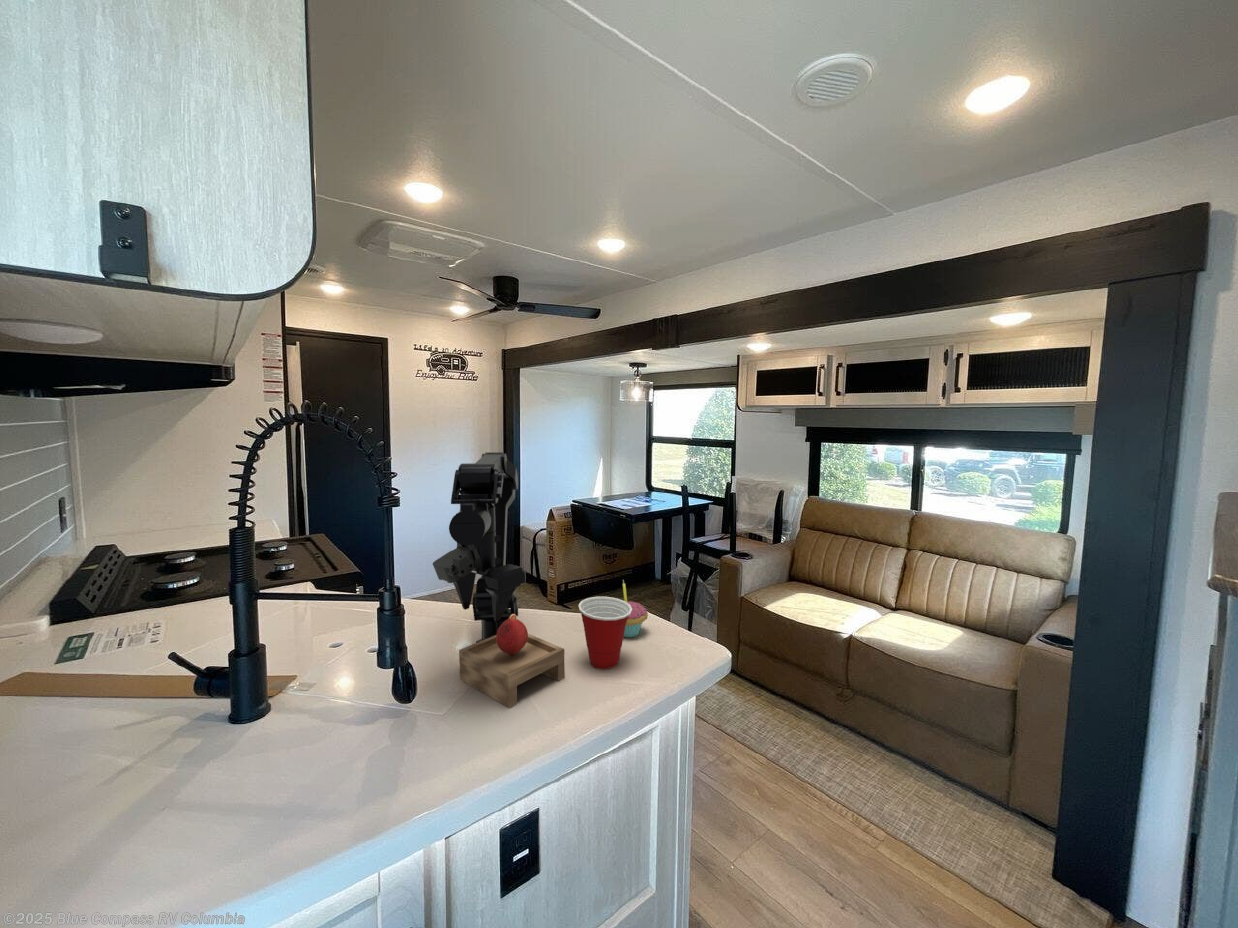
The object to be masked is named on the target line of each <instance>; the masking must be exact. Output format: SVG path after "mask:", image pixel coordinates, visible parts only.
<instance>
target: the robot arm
mask: <svg viewBox="0 0 1238 928" xmlns="http://www.w3.org/2000/svg"><path fill="white" fill-rule="evenodd" d="M507 457H508V456H507V453H504V452H503V451H502V452H499V451H498V452H496V451H495V452H494V451H493V452H487V451H486V452H484V453H482V454H481V457H480V458H479V459H478V460H477V461H476V462H474V463H472V462H471V463H469V462H468V463H466V462H465V463H460V464H459V465H458V469H455V471H454V478H453V483H452V484H453V485H452V491H451V492H452V493H451V499H450V504H451V505H459V511H458V512H457V513H455V515H453V516H452V518H451V519H450V523H449V525H448V531H449V532H448V533H449V534H450V537H451V538H452V539H453V541H454V542H456V548H454V549H452V550H450V551H448V552H447V553H445V554H444V555H442V556H440V557H439V558H437V559H436V560H435V561H433V562H432V566H433V569H434V572H435V573H436V575H437V578H438V580H439V581H444V582H447V583H448V584H452V585H453V586H454V588H455V590H456V593H457V595H458V598H459V602H460V604H461V607H462V609H463V610H465V611H467V610H468V609H470V606H471V603H472V612H473V620H474V621H475V622H476V621H481V639H479V640H476V641H475V643H478V642H480V641H483V640H485V639H488V638H490V637H493V636H495V635H497V631H498V629H499V627H500V626H501V625H502V623H503V622H504V621H506V620H507V619H508V618H509V617H510V616H511V614H515V615H516V617H518V616H519V604H518V598H517V596H516V594H515V591H516V589H517V588H518V587H521V584H524V583H526V578H527V577H526V575H527V574H526V573H527V571H526V570H525V569H524V567H522V566H518V565H514V564H510V563H507V564H506V562H507V561H506V560H507V559H506V558H507V534H508V530H507V529H508V512H509V511H508V509H509V507H510V506H511V505H512V504H513V502H514V500H515V498H516V491H517V490H518V489H519V475H518V469H517V466H516V465H515V464H513V463H512V462H511V461H509V459H508V458H507ZM476 575H480V577H479V578H478V579H477V581H476ZM475 582H476V584H475ZM475 585H476V586H475ZM474 587H476V588H475V592H474Z"/></svg>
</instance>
